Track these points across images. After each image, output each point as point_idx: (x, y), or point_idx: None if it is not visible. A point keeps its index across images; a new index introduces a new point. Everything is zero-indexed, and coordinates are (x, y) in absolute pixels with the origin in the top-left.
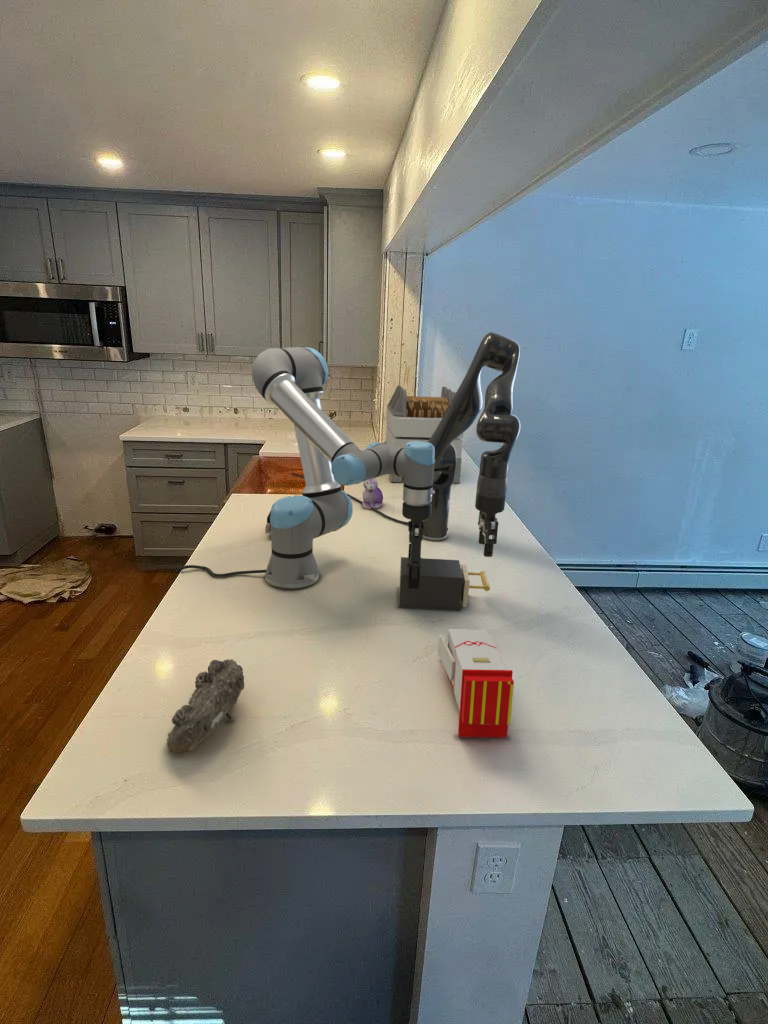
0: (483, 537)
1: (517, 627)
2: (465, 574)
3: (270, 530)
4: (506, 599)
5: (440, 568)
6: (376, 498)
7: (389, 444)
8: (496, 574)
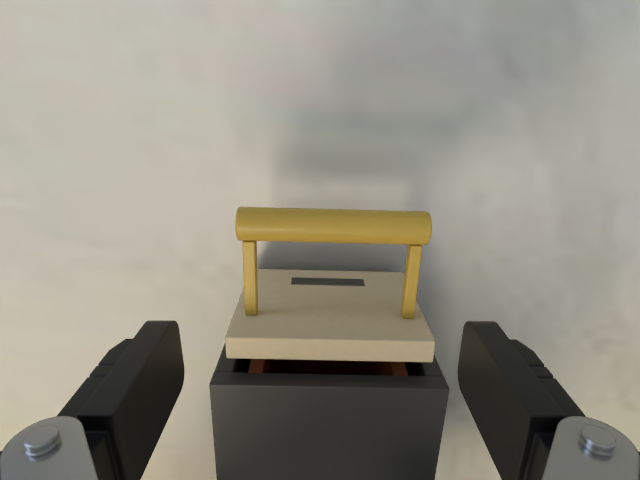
0: (154, 396)
1: (551, 72)
2: (360, 353)
3: None
4: (292, 69)
5: (337, 476)
6: None
7: None
8: (12, 67)
